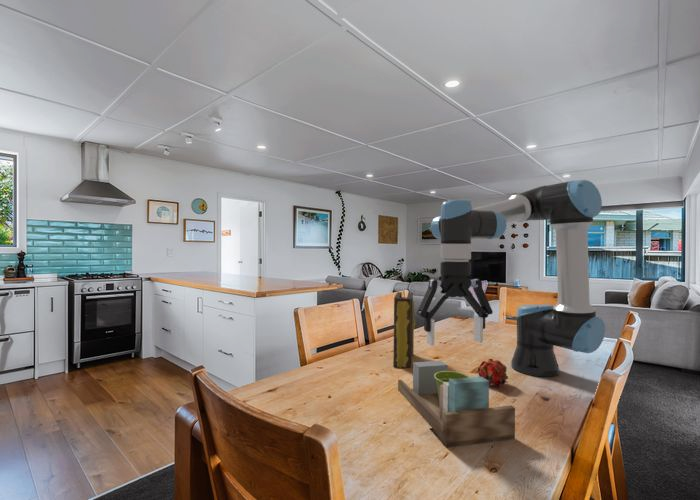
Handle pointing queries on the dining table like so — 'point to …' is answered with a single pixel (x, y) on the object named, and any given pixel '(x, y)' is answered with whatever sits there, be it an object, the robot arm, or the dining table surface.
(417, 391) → the bookend
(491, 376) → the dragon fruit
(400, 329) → the book
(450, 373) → the plant pot
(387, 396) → the dining table surface
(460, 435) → the book rack
